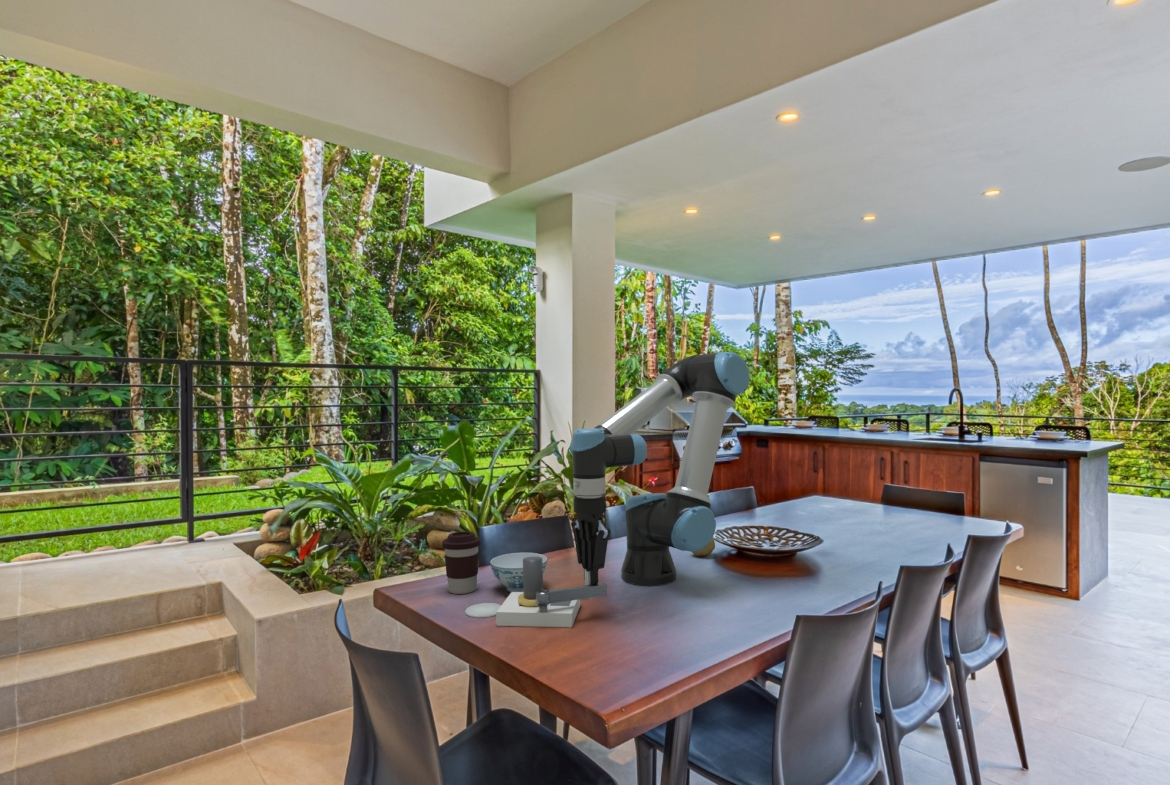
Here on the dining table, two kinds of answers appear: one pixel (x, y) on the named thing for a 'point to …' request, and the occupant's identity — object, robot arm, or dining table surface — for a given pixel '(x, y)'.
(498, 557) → the chinaware
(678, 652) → the dining table surface
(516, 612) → the socket block
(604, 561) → the robot arm
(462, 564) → the coffee cup
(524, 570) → the plug
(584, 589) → the grey lever handle
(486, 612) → the mat
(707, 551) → the fruit
